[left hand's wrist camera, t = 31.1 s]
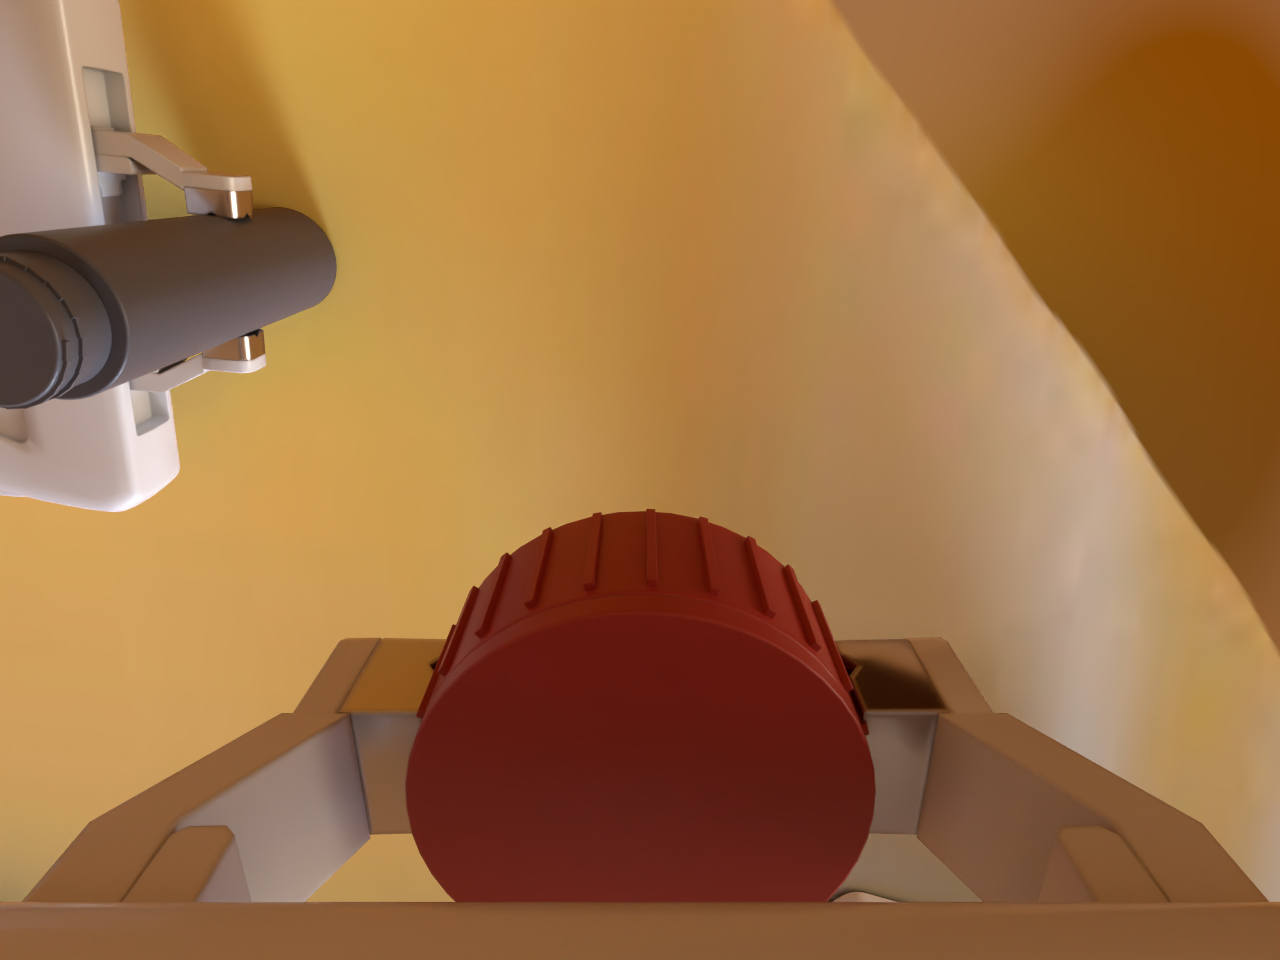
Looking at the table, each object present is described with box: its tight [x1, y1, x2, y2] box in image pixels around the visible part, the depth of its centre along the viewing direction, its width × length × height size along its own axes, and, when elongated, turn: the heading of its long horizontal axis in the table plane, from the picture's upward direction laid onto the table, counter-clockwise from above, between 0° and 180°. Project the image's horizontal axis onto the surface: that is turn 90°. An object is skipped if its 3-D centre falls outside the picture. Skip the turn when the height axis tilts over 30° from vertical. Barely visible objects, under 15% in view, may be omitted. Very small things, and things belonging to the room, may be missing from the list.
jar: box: [0, 207, 336, 409], centre depth 27 cm, size 4×4×17 cm
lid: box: [405, 509, 876, 902], centre depth 9 cm, size 5×5×2 cm
